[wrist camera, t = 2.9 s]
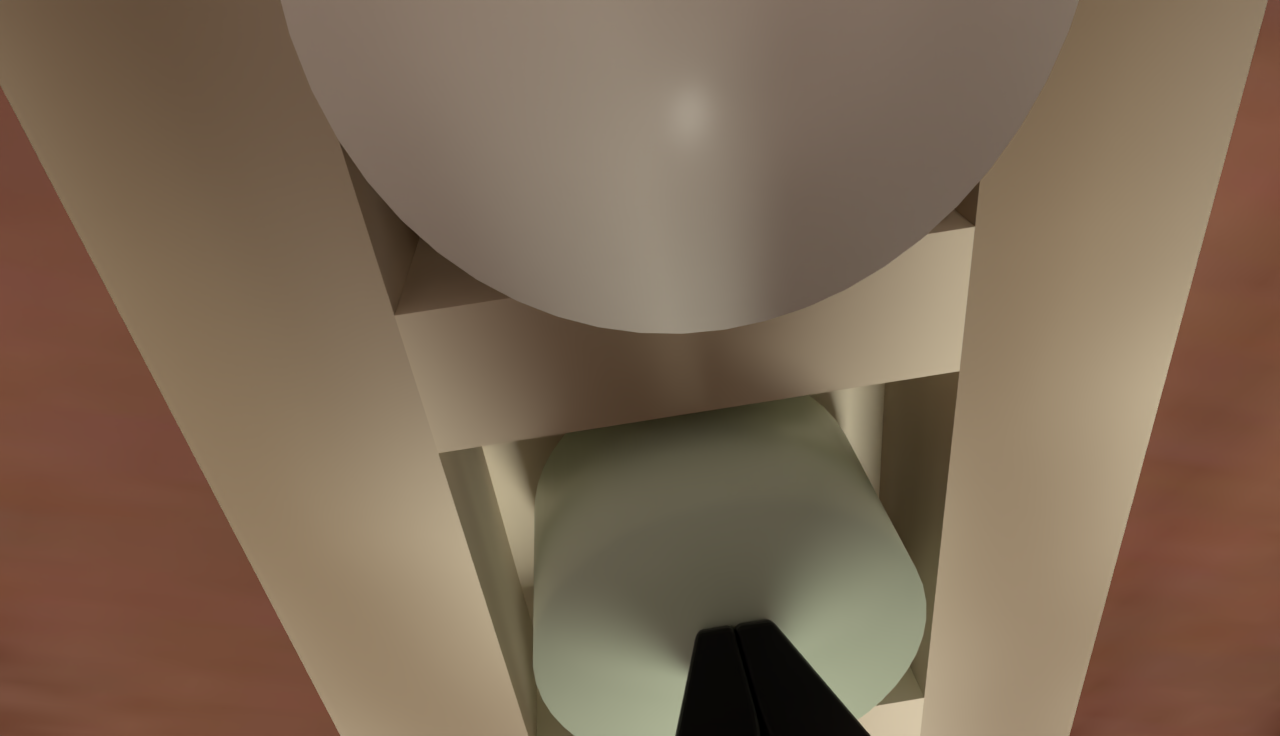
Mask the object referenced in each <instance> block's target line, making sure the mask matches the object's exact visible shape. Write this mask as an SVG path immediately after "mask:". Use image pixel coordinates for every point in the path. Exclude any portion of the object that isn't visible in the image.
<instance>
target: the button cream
mask: <svg viewBox="0 0 1280 736" xmlns="http://www.w3.org/2000/svg"><path fill="white" fill-rule="evenodd" d="M1078 2H1079V0H281V4H282V8H283V12H284V15H285V19H286V23H287V27H288V31H289V34H290V37H291V40H292V42H293V45H294V47H295V50H296V52H297V55H298V57H299V60H300V63H301V65H302V68H303V70H304V73H305V75H306V78H307V80H308V83H309V85H310V88H311V90H312V92H313V94H314V96H315V98H316V100H317V101H318V103H319V105H320V107H321V109H322V111H323V113H324V115H325V116H326V118H327V120H328V122H329V124H330V126H331V128H332V129H333V131H334V133H335V135H336V137H337V139H338V140H339V142H340V143H341V145H342V146H343V147H344V149H345V150H346V152H347V153H348V155H349V156H350V157H351V159H352V160H353V162H354V163H355V165H356V166H357V167H358V169H359V170H360V172H361V173H362V175H363V176H364V178H365V179H366V180H367V182H368V183H369V184H370V185H371V186H372V188H373V189H374V190H375V191H376V192H377V193H378V194H379V195H380V197H381V198H382V199H383V200H384V201H385V202H386V203H387V205H388V206H389V207H390V208H391V209H392V210H393V211H394V212H395V214H396V215H397V216H398V217H399V218H400V219H401V220H402V221H403V222H404V223H405V224H406V225H407V226H408V227H410V228H411V229H412V230H413V231H414V232H415V233H416V234H417V235H419V236H420V237H421V238H422V239H423V240H424V241H425V242H426V243H428V244H429V245H430V246H431V247H432V248H433V249H434V250H435V251H437V252H438V253H439V254H441V255H442V256H443V257H445V258H446V259H448V260H449V261H451V262H452V263H453V264H455V265H456V266H458V267H459V268H461V269H462V270H464V271H465V272H466V273H468V274H469V275H471V276H472V277H474V278H475V279H476V280H478V281H480V282H482V283H484V284H486V285H488V286H490V287H492V288H493V289H495V290H497V291H499V292H501V293H503V294H505V295H507V296H508V297H510V298H512V299H514V300H516V301H518V302H521V303H524V304H526V305H529V306H531V307H534V308H536V309H539V310H542V311H544V312H547V313H549V314H552V315H554V316H557V317H561V318H565V319H569V320H572V321H576V322H580V323H584V324H588V325H592V326H596V327H600V328H608V329H615V330H623V331H630V332H637V333H670V334H685V333H696V332H706V331H716V330H726V329H730V328H735V327H740V326H744V325H749V324H754V323H758V322H763V321H767V320H770V319H773V318H776V317H779V316H782V315H785V314H788V313H791V312H794V311H797V310H800V309H803V308H806V307H809V306H811V305H813V304H815V303H818V302H820V301H822V300H824V299H826V298H828V297H831V296H833V295H835V294H837V293H839V292H842V291H844V290H846V289H848V288H850V287H851V286H853V285H855V284H856V283H858V282H860V281H861V280H863V279H865V278H866V277H868V276H870V275H871V274H873V273H875V272H876V271H878V270H880V269H881V268H883V267H885V266H886V265H888V264H889V263H890V262H892V261H893V260H894V259H896V258H897V257H898V256H900V255H901V254H902V253H904V252H905V251H906V250H908V249H909V248H910V247H912V246H913V245H914V244H916V243H917V242H918V241H920V240H921V239H922V238H924V237H925V236H926V235H927V234H928V233H929V232H930V231H931V230H932V229H933V228H934V227H935V226H936V225H938V224H939V223H940V222H941V221H942V220H943V219H944V218H945V217H946V216H947V215H948V214H949V213H951V212H952V211H953V210H954V209H955V208H956V207H957V206H958V205H959V204H960V203H961V202H962V200H963V199H964V198H965V197H966V196H967V195H968V194H969V193H970V191H971V190H972V189H973V188H974V187H975V186H976V185H977V183H978V182H979V181H980V180H981V179H982V178H983V177H984V176H985V174H986V173H987V172H988V171H989V170H990V169H991V167H992V166H993V164H994V163H995V162H996V160H997V159H998V158H999V156H1000V155H1001V153H1002V152H1003V151H1004V149H1005V148H1006V146H1007V145H1008V144H1009V142H1010V141H1011V139H1012V138H1013V137H1014V135H1015V134H1016V132H1017V131H1018V130H1019V128H1020V127H1021V125H1022V123H1023V121H1024V120H1025V118H1026V116H1027V114H1028V113H1029V111H1030V109H1031V107H1032V106H1033V104H1034V102H1035V100H1036V99H1037V97H1038V95H1039V93H1040V92H1041V90H1042V88H1043V87H1044V85H1045V83H1046V81H1047V79H1048V77H1049V75H1050V72H1051V70H1052V68H1053V66H1054V63H1055V61H1056V59H1057V57H1058V54H1059V52H1060V50H1061V48H1062V45H1063V43H1064V41H1065V39H1066V36H1067V34H1068V32H1069V29H1070V26H1071V23H1072V20H1073V17H1074V14H1075V11H1076V8H1077V5H1078Z"/></svg>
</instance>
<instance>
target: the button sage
mask: <svg viewBox="0 0 1280 736" xmlns="http://www.w3.org/2000/svg"><path fill="white" fill-rule="evenodd" d="M762 619H769V620H771V621H773V622H774V623H775V624H776V625H777V626H778V627H779V629H780V630H781V631H782V632H783V633H784V634H785V636H786V637H787V638H788V639H789V640H790V641H791V643H792V644H793V645H794V646H795V647H796V648H797V650H798V651H799V652H800V653H801V654H802V655H803V657H804V658H805V659H806V660H807V661H808V663H809V664H810V665H811V666H812V667H813V668H814V670H815V671H816V672H817V673H818V674H819V675H820V677H821V678H822V679H823V680H824V681H825V682H826V684H827V685H828V686H829V687H830V688H831V690H832V691H833V692H834V693H835V694H836V695H837V697H838V698H839V699H840V700H841V701H842V702H843V704H844V705H845V706H846V707H847V708H848V709H849V711H850V712H851V713H852V714H853V715H854V717H855V718H856V719H857V720H858V719H859V718H861V717H862V716H864V715H865V714H866V713H868V712H869V711H870V710H871V709H872V708H873V707H875V706H876V705H877V704H878V703H879V702H881V701H882V700H883V699H884V698H885V696H886V695H887V694H888V693H889V692H890V691H891V690H892V689H893V688H894V687H895V686H896V685H897V683H898V682H899V681H900V679H901V678H902V677H903V675H904V674H905V673H906V671H907V670H908V668H909V666H910V665H911V663H912V661H913V659H914V657H915V656H916V654H917V651H918V648H919V646H920V643H921V640H922V638H923V634H924V628H925V623H926V598H925V593H924V588H923V584H922V581H921V579H920V577H919V574H918V572H917V569H916V567H915V565H914V564H913V562H912V560H911V558H910V556H909V554H908V552H907V550H906V548H905V547H904V545H903V543H902V541H901V539H900V537H899V535H898V533H897V531H896V529H895V528H894V526H893V524H892V522H891V520H890V518H889V516H888V514H887V512H886V511H885V509H884V507H883V505H882V503H881V501H880V499H879V497H878V495H877V493H876V492H875V490H874V488H873V486H872V484H871V482H870V480H869V478H868V476H867V475H866V473H865V471H864V469H863V467H862V465H861V463H860V461H859V459H858V457H857V456H856V454H855V452H854V450H853V448H852V446H851V444H850V442H849V440H848V439H847V437H846V435H845V433H844V432H843V430H842V429H841V427H840V426H839V424H838V422H837V421H836V420H835V419H834V417H833V416H832V415H831V414H830V413H829V412H828V411H827V410H826V409H825V408H824V407H823V406H822V405H821V404H819V403H818V402H817V401H815V400H814V399H813V398H812V397H810V396H809V395H805V396H799V397H792V398H786V399H780V400H773V401H767V402H760V403H754V404H748V405H741V406H735V407H729V408H722V409H716V410H710V411H703V412H697V413H690V414H684V415H678V416H671V417H665V418H659V419H652V420H646V421H640V422H633V423H627V424H621V425H614V426H608V427H601V428H595V429H589V430H582V431H576V432H570V433H565V435H564V436H563V437H562V439H561V440H560V441H559V443H558V444H557V445H556V447H555V448H554V449H553V451H552V453H551V454H550V456H549V458H548V460H547V462H546V464H545V465H544V468H543V470H542V473H541V476H540V479H539V481H538V485H537V490H536V496H535V512H534V605H533V670H534V675H535V681H536V685H537V687H538V690H539V692H540V695H541V697H542V700H543V701H544V703H545V704H546V706H547V707H548V709H549V711H550V712H551V714H552V715H553V716H554V717H555V718H556V719H557V720H558V721H559V722H560V724H561V725H562V726H563V727H564V728H566V729H567V730H568V731H569V732H571V733H572V734H573V735H574V736H675V734H676V729H677V724H678V719H679V714H680V709H681V704H682V700H683V695H684V690H685V685H686V680H687V675H688V670H689V666H690V661H691V656H692V651H693V646H694V641H695V637H696V634H697V633H698V631H700V630H702V629H707V628H713V627H719V626H725V625H728V626H731V627H733V629H734V630H735V627H736V626H737V625H738V624H739V623H743V622H750V621H756V620H762Z"/></svg>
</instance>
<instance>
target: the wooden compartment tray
mask: <svg viewBox="0 0 1280 736" xmlns="http://www.w3.org/2000/svg"><path fill="white" fill-rule="evenodd" d="M1267 1H1268V0H1079V2H1078V5H1077V8H1076V11H1075V14H1074V17H1073V20H1072V23H1071V26H1070V29H1069V32H1068V34H1067V36H1066V39H1065V41H1064V43H1063V45H1062V48H1061V50H1060V52H1059V54H1058V57H1057V59H1056V61H1055V63H1054V66H1053V68H1052V70H1051V72H1050V75H1049V77H1048V79H1047V81H1046V83H1045V85H1044V87H1043V88H1042V90H1041V92H1040V93H1039V95H1038V97H1037V99H1036V100H1035V102H1034V104H1033V106H1032V107H1031V109H1030V111H1029V113H1028V114H1027V116H1026V118H1025V120H1024V121H1023V123H1022V125H1021V127H1020V128H1019V130H1018V131H1017V132H1016V134H1015V135H1014V137H1013V138H1012V139H1011V141H1010V142H1009V144H1008V145H1007V146H1006V148H1005V149H1004V151H1003V152H1002V153H1001V155H1000V156H999V158H998V159H997V160H996V162H995V163H994V164H993V166H992V167H991V169H990V170H989V171H988V172H987V173H986V174H985V176H984V177H983V178H982V179H981V180H980V181H979V182H978V183H977V185H976V186H975V187H974V188H973V189H972V190H971V191H970V193H969V194H968V195H967V196H966V197H965V198H964V199H963V200H962V202H961V203H960V204H959V205H958V206H957V207H956V208H955V209H954V210H953V211H952V212H951V213H949V214H948V215H947V216H946V217H945V218H944V219H943V220H942V221H941V222H940V223H939V224H938V225H936V226H935V227H934V228H933V229H932V230H931V231H930V232H929V233H928V234H927V235H926V236H925V237H924V238H922V239H921V240H920V241H918V242H917V243H916V244H914V245H913V246H912V247H910V248H909V249H908V250H906V251H905V252H904V253H902V254H901V255H900V256H898V257H897V258H896V259H894V260H893V261H892V262H890V263H889V264H888V265H886V266H885V267H883V268H881V269H880V270H878V271H876V272H875V273H873V274H871V275H870V276H868V277H866V278H865V279H863V280H861V281H860V282H858V283H856V284H855V285H853V286H851V287H850V288H848V289H846V290H844V291H842V292H839V293H837V294H835V295H833V296H831V297H828V298H826V299H824V300H822V301H820V302H818V303H815V304H813V305H811V306H809V307H806V308H803V309H800V310H797V311H794V312H791V313H788V314H785V315H782V316H779V317H776V318H773V319H770V320H767V321H763V322H758V323H754V324H749V325H744V326H740V327H735V328H730V329H726V330H716V331H706V332H696V333H685V334H670V333H637V332H630V331H623V330H615V329H608V328H600V327H596V326H592V325H588V324H584V323H580V322H576V321H572V320H569V319H565V318H561V317H557V316H554V315H552V314H549V313H547V312H544V311H542V310H539V309H536V308H534V307H531V306H529V305H526V304H524V303H521V302H518V301H516V300H514V299H512V298H510V297H508V296H507V295H505V294H503V293H501V292H499V291H497V290H495V289H493V288H492V287H490V286H488V285H486V284H484V283H482V282H480V281H478V280H476V279H475V278H474V277H472V276H471V275H469V274H468V273H466V272H465V271H464V270H462V269H461V268H459V267H458V266H456V265H455V264H453V263H452V262H451V261H449V260H448V259H446V258H445V257H443V256H442V255H441V254H439V253H438V252H437V251H435V250H434V249H433V248H432V247H431V246H430V245H429V244H428V243H426V242H425V241H424V240H423V239H422V238H421V237H420V236H419V235H417V234H416V233H415V232H414V231H413V230H412V229H411V228H410V227H408V226H407V225H406V224H405V223H404V222H403V221H402V220H401V219H400V218H399V217H398V216H397V215H396V214H395V212H394V211H393V210H392V209H391V208H390V207H389V206H388V205H387V203H386V202H385V201H384V200H383V199H382V198H381V197H380V195H379V194H378V193H377V192H376V191H375V190H374V189H373V188H372V186H371V185H370V184H369V183H368V182H367V180H366V179H365V178H364V176H363V175H362V173H361V172H360V170H359V169H358V167H357V166H356V165H355V163H354V162H353V160H352V159H351V157H350V156H349V155H348V153H347V152H346V150H345V149H344V147H343V146H342V145H341V143H340V142H339V140H338V139H337V137H336V135H335V133H334V131H333V129H332V128H331V126H330V124H329V122H328V120H327V118H326V116H325V115H324V113H323V111H322V109H321V107H320V105H319V103H318V101H317V100H316V98H315V96H314V94H313V92H312V90H311V88H310V85H309V83H308V80H307V78H306V75H305V73H304V70H303V68H302V65H301V63H300V60H299V57H298V55H297V52H296V50H295V47H294V45H293V42H292V40H291V37H290V34H289V31H288V27H287V23H286V19H285V15H284V12H283V8H282V4H281V0H0V85H1V87H2V89H3V91H4V93H5V95H6V97H7V99H8V101H9V103H10V105H11V106H12V108H13V110H14V112H15V114H16V116H17V118H18V120H19V122H20V124H21V126H22V128H23V129H24V131H25V133H26V135H27V137H28V139H29V141H30V143H31V145H32V147H33V149H34V150H35V152H36V154H37V156H38V158H39V160H40V162H41V164H42V166H43V168H44V170H45V172H46V173H47V175H48V177H49V179H50V181H51V183H52V185H53V187H54V189H55V191H56V193H57V194H58V196H59V198H60V200H61V202H62V204H63V206H64V208H65V210H66V212H67V214H68V215H69V217H70V219H71V221H72V223H73V225H74V227H75V229H76V231H77V233H78V235H79V237H80V238H81V240H82V242H83V244H84V246H85V248H86V250H87V252H88V254H89V256H90V258H91V259H92V261H93V263H94V265H95V267H96V269H97V271H98V273H99V275H100V277H101V279H102V281H103V282H104V284H105V286H106V288H107V290H108V292H109V294H110V296H111V298H112V300H113V302H114V303H115V305H116V307H117V309H118V311H119V313H120V315H121V317H122V319H123V321H124V323H125V324H126V326H127V328H128V330H129V332H130V334H131V336H132V338H133V340H134V342H135V344H136V346H137V347H138V349H139V351H140V353H141V355H142V357H143V359H144V361H145V363H146V365H147V367H148V368H149V370H150V372H151V374H152V376H153V378H154V380H155V382H156V384H157V386H158V388H159V390H160V391H161V393H162V395H163V397H164V399H165V401H166V403H167V405H168V407H169V409H170V411H171V412H172V414H173V416H174V418H175V420H176V422H177V424H178V426H179V428H180V430H181V432H182V433H183V435H184V437H185V439H186V441H187V443H188V445H189V447H190V449H191V451H192V453H193V455H194V456H195V458H196V460H197V462H198V464H199V466H200V468H201V470H202V472H203V474H204V476H205V477H206V479H207V481H208V483H209V485H210V487H211V489H212V491H213V493H214V495H215V497H216V499H217V500H218V502H219V504H220V506H221V508H222V510H223V512H224V514H225V516H226V518H227V520H228V521H229V523H230V525H231V527H232V529H233V531H234V533H235V535H236V537H237V539H238V541H239V542H240V544H241V546H242V548H243V550H244V552H245V554H246V556H247V558H248V560H249V562H250V564H251V565H252V567H253V569H254V571H255V573H256V575H257V577H258V579H259V581H260V583H261V585H262V586H263V588H264V590H265V592H266V594H267V596H268V598H269V600H270V602H271V604H272V606H273V608H274V609H275V611H276V613H277V615H278V617H279V619H280V621H281V623H282V625H283V627H284V629H285V630H286V632H287V634H288V636H289V638H290V640H291V642H292V644H293V646H294V648H295V650H296V651H297V653H298V655H299V657H300V659H301V661H302V663H303V665H304V667H305V669H306V671H307V673H308V674H309V676H310V678H311V680H312V682H313V684H314V686H315V688H316V690H317V692H318V694H319V695H320V697H321V699H322V701H323V703H324V705H325V707H326V709H327V711H328V713H329V715H330V717H331V718H332V720H333V722H334V724H335V726H336V728H337V730H338V732H339V734H340V736H574V735H573V734H572V733H571V732H569V731H568V730H567V729H566V728H564V727H563V726H562V725H561V724H560V722H559V721H558V720H557V719H556V718H555V717H554V716H553V715H552V714H551V712H550V711H549V709H548V707H547V706H546V704H545V703H544V701H543V700H542V697H541V695H540V692H539V690H538V687H537V685H536V681H535V675H534V670H533V605H534V512H535V496H536V490H537V485H538V481H539V479H540V476H541V473H542V470H543V468H544V465H545V464H546V462H547V460H548V458H549V456H550V454H551V453H552V451H553V449H554V448H555V447H556V445H557V444H558V443H559V441H560V440H561V439H562V437H563V436H564V435H565V433H570V432H576V431H582V430H589V429H595V428H601V427H608V426H614V425H621V424H627V423H633V422H640V421H646V420H652V419H659V418H665V417H671V416H678V415H684V414H690V413H697V412H703V411H710V410H716V409H722V408H729V407H735V406H741V405H748V404H754V403H760V402H767V401H773V400H780V399H786V398H792V397H799V396H805V395H809V396H810V397H812V398H813V399H814V400H815V401H817V402H818V403H819V404H821V405H822V406H823V407H824V408H825V409H826V410H827V411H828V412H829V413H830V414H831V415H832V416H833V417H834V419H835V420H836V421H837V422H838V424H839V426H840V427H841V429H842V430H843V432H844V433H845V435H846V437H847V439H848V440H849V442H850V444H851V446H852V448H853V450H854V452H855V454H856V456H857V457H858V459H859V461H860V463H861V465H862V467H863V469H864V471H865V473H866V475H867V476H868V478H869V480H870V482H871V484H872V486H873V488H874V490H875V492H876V493H877V495H878V497H879V499H880V501H881V503H882V505H883V507H884V509H885V511H886V512H887V514H888V516H889V518H890V520H891V522H892V524H893V526H894V528H895V529H896V531H897V533H898V535H899V537H900V539H901V541H902V543H903V545H904V547H905V548H906V550H907V552H908V554H909V556H910V558H911V560H912V562H913V564H914V565H915V567H916V569H917V572H918V574H919V577H920V579H921V581H922V584H923V588H924V593H925V598H926V623H925V628H924V634H923V638H922V640H921V643H920V646H919V648H918V651H917V654H916V656H915V657H914V659H913V661H912V663H911V665H910V666H909V668H908V670H907V671H906V673H905V674H904V675H903V677H902V678H901V679H900V681H899V682H898V683H897V685H896V686H895V687H894V688H893V689H892V690H891V691H890V692H889V693H888V694H887V695H886V696H885V698H884V699H883V700H882V701H881V702H879V703H878V704H877V705H876V706H875V707H873V708H872V709H871V710H870V711H869V712H868V713H866V714H865V715H864V716H862V717H861V718H859V719H858V721H859V722H860V724H861V725H862V726H863V727H864V728H865V729H866V731H867V732H868V733H869V734H870V735H871V736H1069V735H1070V731H1071V727H1072V724H1073V720H1074V716H1075V712H1076V709H1077V705H1078V701H1079V698H1080V694H1081V690H1082V686H1083V683H1084V679H1085V675H1086V672H1087V668H1088V664H1089V661H1090V657H1091V653H1092V649H1093V646H1094V642H1095V638H1096V635H1097V631H1098V627H1099V624H1100V620H1101V616H1102V612H1103V609H1104V605H1105V601H1106V598H1107V594H1108V590H1109V586H1110V583H1111V579H1112V575H1113V572H1114V568H1115V564H1116V561H1117V557H1118V553H1119V549H1120V546H1121V542H1122V538H1123V535H1124V531H1125V527H1126V523H1127V520H1128V516H1129V512H1130V509H1131V505H1132V501H1133V498H1134V494H1135V490H1136V486H1137V483H1138V479H1139V475H1140V472H1141V468H1142V464H1143V460H1144V457H1145V453H1146V449H1147V446H1148V442H1149V438H1150V435H1151V431H1152V427H1153V423H1154V420H1155V416H1156V412H1157V409H1158V405H1159V401H1160V398H1161V394H1162V390H1163V386H1164V383H1165V379H1166V375H1167V372H1168V368H1169V364H1170V360H1171V357H1172V353H1173V349H1174V346H1175V342H1176V338H1177V335H1178V331H1179V327H1180V323H1181V320H1182V316H1183V312H1184V309H1185V305H1186V301H1187V297H1188V294H1189V290H1190V286H1191V283H1192V279H1193V275H1194V272H1195V268H1196V264H1197V260H1198V257H1199V253H1200V249H1201V246H1202V242H1203V238H1204V235H1205V231H1206V227H1207V223H1208V220H1209V216H1210V212H1211V209H1212V205H1213V201H1214V197H1215V194H1216V190H1217V186H1218V183H1219V179H1220V175H1221V172H1222V168H1223V164H1224V160H1225V157H1226V153H1227V149H1228V146H1229V142H1230V138H1231V134H1232V131H1233V127H1234V123H1235V120H1236V116H1237V112H1238V109H1239V105H1240V101H1241V97H1242V94H1243V90H1244V86H1245V83H1246V79H1247V75H1248V72H1249V68H1250V64H1251V60H1252V57H1253V53H1254V49H1255V46H1256V42H1257V38H1258V34H1259V31H1260V27H1261V23H1262V20H1263V16H1264V12H1265V9H1266V5H1267Z"/></svg>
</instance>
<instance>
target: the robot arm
mask: <svg viewBox="0 0 1280 736" xmlns="http://www.w3.org/2000/svg"><path fill="white" fill-rule="evenodd" d="M675 736H871V735H870V734H869V733H868V732H867V731H866V729H865V728H864V727H863V726H862V725H861V724H860V722H859V721H858V720H857V719H856V718H855V717H854V715H853V714H852V713H851V712H850V711H849V709H848V708H847V707H846V706H845V705H844V704H843V702H842V701H841V700H840V699H839V698H838V697H837V695H836V694H835V693H834V692H833V691H832V690H831V688H830V687H829V686H828V685H827V684H826V682H825V681H824V680H823V679H822V678H821V677H820V675H819V674H818V673H817V672H816V671H815V670H814V668H813V667H812V666H811V665H810V664H809V663H808V661H807V660H806V659H805V658H804V657H803V655H802V654H801V653H800V652H799V651H798V650H797V648H796V647H795V646H794V645H793V644H792V643H791V641H790V640H789V639H788V638H787V637H786V636H785V634H784V633H783V632H782V631H781V630H780V629H779V627H778V626H777V625H776V624H775V623H774V622H773V621H771V620H769V619H762V620H756V621H750V622H743V623H739V624H738V625H737V626H736V627H735V630H734V629H733V627H731V626H728V625H725V626H719V627H713V628H707V629H702V630H700V631H698V633H697V634H696V637H695V641H694V646H693V651H692V656H691V661H690V666H689V670H688V675H687V680H686V685H685V690H684V695H683V700H682V704H681V709H680V714H679V719H678V724H677V729H676V734H675Z"/></svg>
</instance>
